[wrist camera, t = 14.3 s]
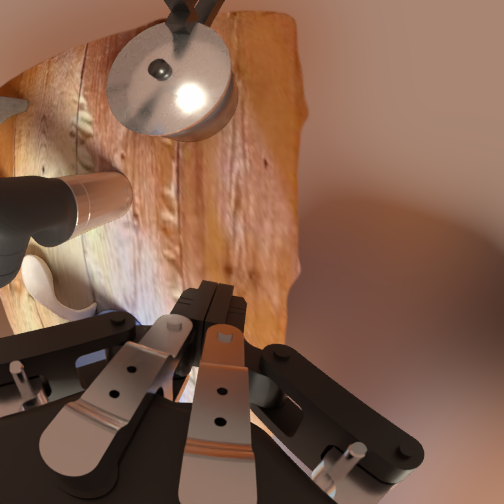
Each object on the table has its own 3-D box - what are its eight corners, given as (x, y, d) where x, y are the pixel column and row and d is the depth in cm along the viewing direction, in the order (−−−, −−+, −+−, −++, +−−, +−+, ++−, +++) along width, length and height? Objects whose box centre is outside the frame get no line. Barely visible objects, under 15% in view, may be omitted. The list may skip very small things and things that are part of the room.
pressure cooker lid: (205, 150, 31) (188, 145, 24) (96, 124, 30) (62, 118, 23) (270, -8, 24) (272, -40, 16) (163, -19, 23) (146, -46, 15)
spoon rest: (27, 280, 54) (11, 291, 47) (31, 242, 51) (12, 250, 44) (93, 327, 56) (78, 343, 49) (101, 288, 53) (84, 303, 46)
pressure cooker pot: (219, 153, 44) (202, 148, 32) (137, 130, 43) (99, 121, 31) (267, 36, 37) (268, -2, 25) (185, 19, 36) (165, -15, 24)
